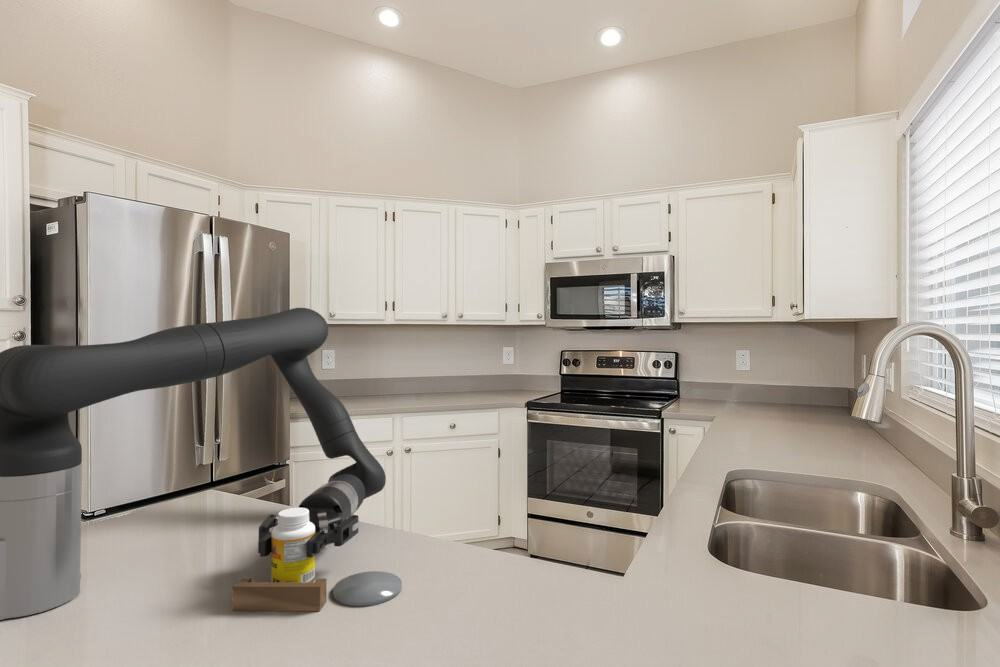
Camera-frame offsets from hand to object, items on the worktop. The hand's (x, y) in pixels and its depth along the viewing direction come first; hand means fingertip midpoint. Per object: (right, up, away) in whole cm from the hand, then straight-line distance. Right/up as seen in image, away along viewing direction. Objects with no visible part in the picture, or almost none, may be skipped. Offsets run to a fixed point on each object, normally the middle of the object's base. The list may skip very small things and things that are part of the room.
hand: (286, 549), depth 70 cm
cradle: (0, -6, -2) cm, 7 cm away
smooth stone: (+10, -6, +2) cm, 12 cm away
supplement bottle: (0, -6, +2) cm, 7 cm away
